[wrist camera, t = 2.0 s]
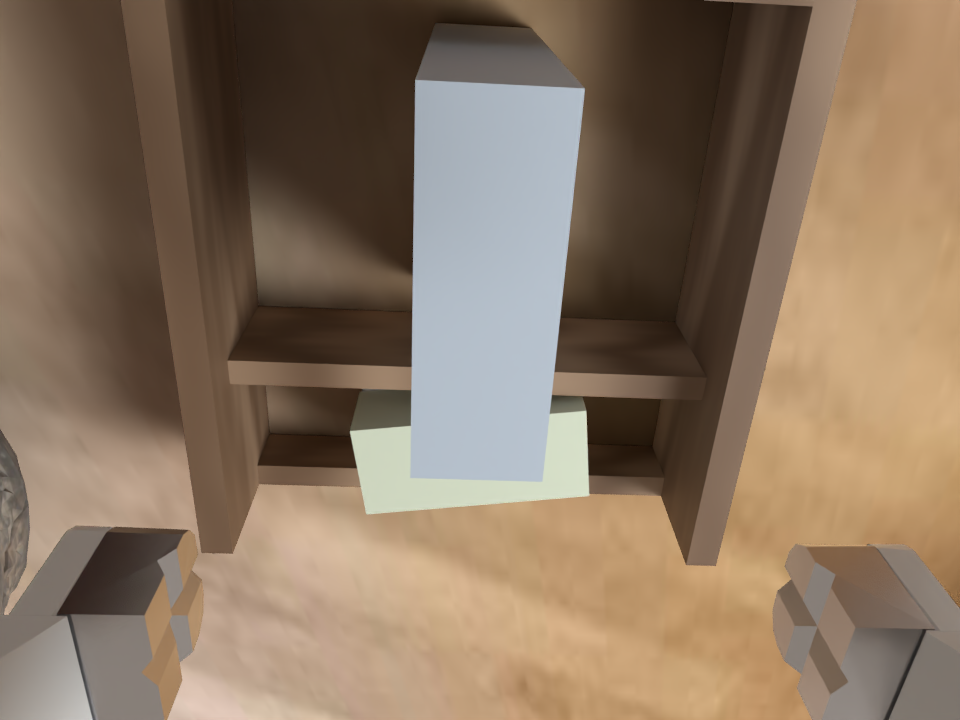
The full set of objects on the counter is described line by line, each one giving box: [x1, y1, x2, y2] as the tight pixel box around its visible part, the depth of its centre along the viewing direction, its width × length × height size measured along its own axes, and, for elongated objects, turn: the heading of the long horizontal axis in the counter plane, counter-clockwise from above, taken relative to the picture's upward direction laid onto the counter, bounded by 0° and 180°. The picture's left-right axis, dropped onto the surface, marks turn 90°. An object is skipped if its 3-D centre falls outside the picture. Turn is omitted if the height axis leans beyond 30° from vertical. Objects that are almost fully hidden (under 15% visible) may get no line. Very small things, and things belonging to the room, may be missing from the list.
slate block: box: [410, 23, 585, 482], centre depth 25 cm, size 4×10×14 cm, turn 177°
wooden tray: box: [120, 0, 857, 566], centre depth 29 cm, size 20×22×7 cm
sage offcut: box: [350, 390, 589, 514], centre depth 32 cm, size 9×4×3 cm, turn 95°
